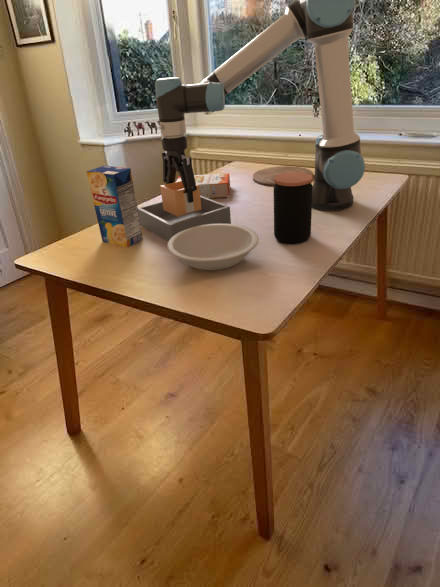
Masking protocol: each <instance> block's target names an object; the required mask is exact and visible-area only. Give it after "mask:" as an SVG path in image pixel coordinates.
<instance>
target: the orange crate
mask: <svg viewBox="0 0 440 587" xmlns="http://www.w3.org/2000/svg"><path fill="white" fill-rule="evenodd" d="M176 181H177V180H176ZM176 181H175V182H173V183H169V184H166V183H165V184H162V185H159V187H160V194H161V201H162V202H163V210H165V211H167V212H169V213H171V214H173V215H175V216H177V217H178V216H182V215H185V214H188V213H186V208H185V199H184V193H183V192H184V191H185V189H184V186H183V183H182V180H181V181H177V182H176ZM196 187H197V190H195V191H193V200H194V201H193V202H194V211H193V212H195V211H198V210H202V209H201V198H200V188H199V185H198V184H196ZM187 188H188V187H187ZM189 213H192V212H189Z"/></svg>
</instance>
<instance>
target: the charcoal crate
mask: <svg viewBox="0 0 440 587" xmlns="http://www.w3.org/2000/svg"><path fill="white" fill-rule="evenodd" d="M200 198H201V209H202V210H198V211H195V212H192V213H188V214H185V215H182V216H178V217H177V216H175V215H173V214H171V213H169V212H167V211H165V210H163V202H162V200H160V201H157V202H153V203H150V204H147V205H143V206H140V207H137V208H138V214H139V220H140V225H141V227H142V228H143V229H146V230H147V231H149V232H151V233H153V234H155V235H156V236H158V237H160V238H161V239H163V240H165V241H166V242H167V243H168V242H169V240H170V239H171V238H172V237H173V236H174V235H176V234H177V233H179V232H181V231H183V230H186V229H189V228H192V227H196V226H200V225H206V224H232V220H231V218H232V217H231V206H229V205H227V204H224V203H222V202H220V201H216V200H214V199H212V198H206V197H203V196H201V195H200Z"/></svg>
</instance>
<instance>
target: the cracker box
mask: <svg viewBox="0 0 440 587" xmlns="http://www.w3.org/2000/svg"><path fill="white" fill-rule="evenodd" d="M194 178H195V182H196V184H198V185H199V188H200V195H201V196H203V197H206V198H209V199H212V198H213V199H216V198H217V199H218V198H229V196H230V190H231V181H230V179H231V177H230V173H229V172H228V173H214V174H213V173H212V174H211V173H210V174H194ZM177 181H181V178H180V175H178V177H177V179H176V180H175V182H177Z"/></svg>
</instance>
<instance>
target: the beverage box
mask: <svg viewBox="0 0 440 587" xmlns="http://www.w3.org/2000/svg"><path fill="white" fill-rule="evenodd" d="M86 174H87V179H88V183H89V184H88V185H89V188H90V189H89V190H90V192H91V199H92V201H93V205H94V211H95V215H96V219H97V220H96V221H97V224H98V228H99V232H100V233H99V234H100V236H101V241H102V243H106V244H111V245H115V246H118V247H124V248H127V249H128V248H130V247H132V246H134V245H136V244H137V243H139V242H141V241H142V240H144V237H143V232H142V228H141V227H142V226H141V225H140V220H139V214H138V208H139V207H138V203H137V197H136V190H135V188H134V187H135V185H134V181H133V175H132V168H130V167H122V166H121V167H120V166H111V165H102V166H99V167H95V168H93V169H90V170H86Z"/></svg>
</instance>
